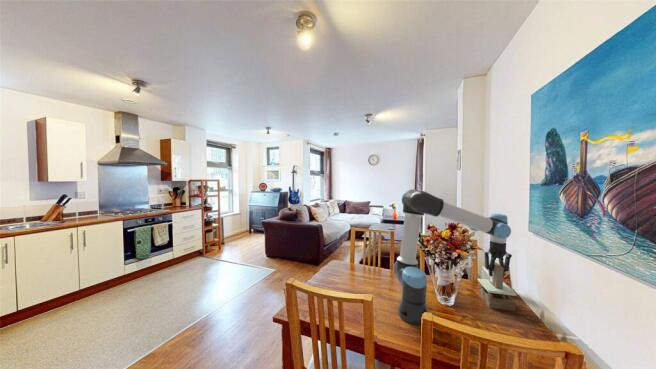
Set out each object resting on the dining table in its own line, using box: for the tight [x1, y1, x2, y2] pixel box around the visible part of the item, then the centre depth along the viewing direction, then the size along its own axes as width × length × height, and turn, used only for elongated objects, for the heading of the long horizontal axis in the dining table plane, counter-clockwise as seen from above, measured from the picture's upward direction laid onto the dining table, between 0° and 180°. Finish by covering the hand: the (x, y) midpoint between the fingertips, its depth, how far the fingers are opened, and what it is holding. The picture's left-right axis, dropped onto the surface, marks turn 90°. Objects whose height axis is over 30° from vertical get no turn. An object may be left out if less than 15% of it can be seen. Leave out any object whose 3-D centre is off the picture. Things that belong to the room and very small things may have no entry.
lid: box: [477, 261, 518, 297], centre depth 129 cm, size 15×13×13 cm
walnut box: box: [478, 285, 516, 312], centre depth 129 cm, size 14×12×6 cm
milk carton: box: [496, 260, 514, 297], centre depth 141 cm, size 9×9×20 cm
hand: (495, 282), depth 129 cm, fingers closed on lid, 3 cm apart
